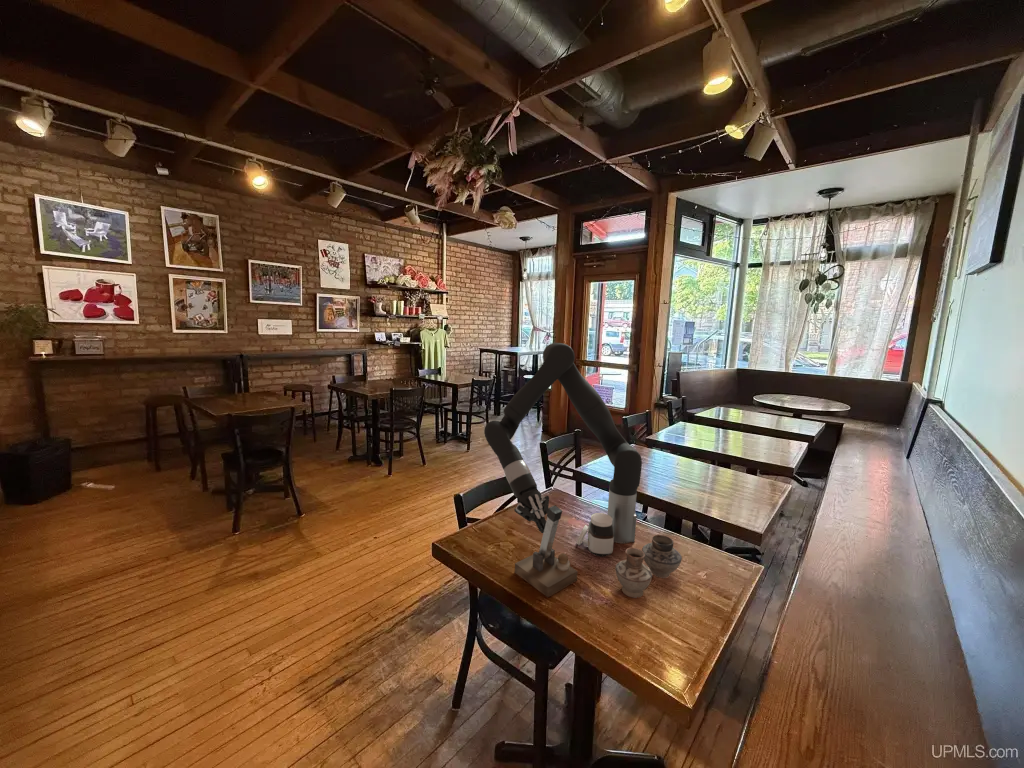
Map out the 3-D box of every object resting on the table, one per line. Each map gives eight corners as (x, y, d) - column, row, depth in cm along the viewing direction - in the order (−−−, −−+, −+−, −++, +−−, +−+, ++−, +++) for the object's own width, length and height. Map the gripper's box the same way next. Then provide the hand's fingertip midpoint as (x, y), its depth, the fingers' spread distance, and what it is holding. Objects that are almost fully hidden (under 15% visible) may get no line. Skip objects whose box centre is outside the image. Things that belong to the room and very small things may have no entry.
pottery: (605, 588, 116) (607, 549, 114) (653, 557, 132) (656, 522, 130) (640, 610, 107) (643, 569, 105) (686, 574, 123) (690, 537, 121)
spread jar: (615, 559, 130) (617, 525, 128) (579, 559, 130) (581, 525, 128) (606, 539, 142) (608, 508, 140) (573, 539, 141) (575, 507, 140)
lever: (536, 556, 121) (548, 508, 115) (543, 553, 122) (555, 505, 117) (543, 563, 119) (555, 513, 113) (550, 559, 120) (562, 510, 115)
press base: (514, 572, 122) (515, 549, 121) (543, 558, 130) (544, 536, 128) (547, 597, 111) (548, 572, 110) (577, 580, 119) (578, 556, 118)
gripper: (508, 477, 119) (535, 534, 112) (541, 468, 128) (568, 520, 121) (497, 488, 124) (522, 543, 117) (529, 478, 133) (554, 529, 125)
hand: (545, 531), depth 119 cm, fingers closed
